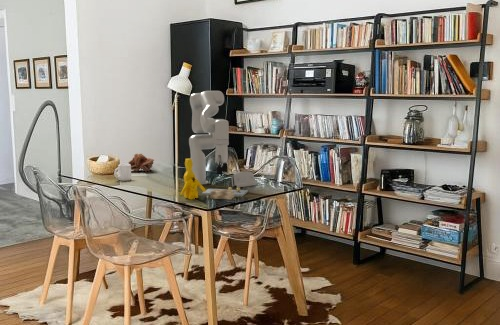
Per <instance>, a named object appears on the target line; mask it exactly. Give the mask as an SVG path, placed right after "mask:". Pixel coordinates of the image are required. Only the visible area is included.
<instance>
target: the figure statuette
mask: <svg viewBox="0 0 500 325" xmlns="http://www.w3.org/2000/svg"><path fill="white" fill-rule="evenodd" d="M192 166H193V162H192V159H191V158H185V161H184V167H185V172H184V175H183V182H184V185H183V188H182V190H181V192H180V194H179V196H182V195H183V197H184V198H186V199H187V200H195V198H196V199H198V198H199V191H198V188H199V189H201V191H202V192H205V191H206V190H207V189H206V188H205V187H204V185H201V184H200V182H199V181H198V179H195V174H194V173H193V172H192Z"/></svg>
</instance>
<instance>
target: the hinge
mask: <svg viewBox="0 0 500 325" xmlns="http://www.w3.org/2000/svg"><path fill="white" fill-rule="evenodd" d="M231 184H232V185H231V186H232V187H236V188H237V187H239V188H243V187H244V188H245V187H251V186H256V185H257V186H258V182H257V181H256V179H255V175H254V172H252V171H247V170H245V171H244V170H243V171H242V170H241V171H239V172H235V173H234V174H232V175H231Z"/></svg>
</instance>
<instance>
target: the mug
mask: <svg viewBox="0 0 500 325" xmlns="http://www.w3.org/2000/svg"><path fill="white" fill-rule="evenodd" d="M117 166H118V167H116V168H115V169H114V172H113V173H114V174H113V175H114V177H115V178H116V179H118V180H119V181H121V182H126V181H131V180H132V170H131V164H129V163H120V164H118V165H117ZM117 171H118V172H117ZM117 173H118V174H117Z"/></svg>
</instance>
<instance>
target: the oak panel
mask: <svg viewBox="0 0 500 325" xmlns="http://www.w3.org/2000/svg"><path fill="white" fill-rule="evenodd" d="M234 190H235V189H232V190H212V191H210V195H209V196H210V200H211V199H214V200H232V199H233V198H235V196H234Z"/></svg>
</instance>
